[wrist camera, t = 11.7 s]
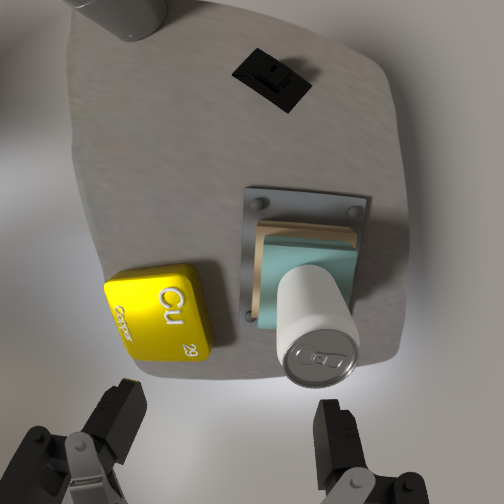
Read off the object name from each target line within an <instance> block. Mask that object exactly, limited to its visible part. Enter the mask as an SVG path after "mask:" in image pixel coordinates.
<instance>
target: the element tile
mask: <svg viewBox="0 0 504 504" xmlns="http://www.w3.org/2000/svg"><path fill="white" fill-rule="evenodd" d="M104 292H105V296H106V299H107V302H108V304H109V307H110V310H111V313H112V316H113V318H114V321H115V324H116V326H117V329H118V331H119V334H120V336H121V339H122V341H123V343H124V346H125V348H126V350H127V352H128V353H129V355H130V356H131V357H132V358H134V359H137V360H141V361H175V362H196V361H203V360H206V359H207V358H208V357H209V354H210V352H211V349H212V346H213V343H214V336H213V332H212V328H211V324H210V320H209V316H208V312H207V308H206V304H205V300H204V296H203V292H202V288H201V283H200V279H199V275H198V273H197V271H196V270H195V268H194V267H192V266H191V265H188V264H175V265H166V266H158V267H150V268H141V269H133V270H125V271H120V272H118V273H117V274H116V275H114V276H113V277H112V278H110V279H109V280H108V281H106V282H105V285H104Z"/></svg>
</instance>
